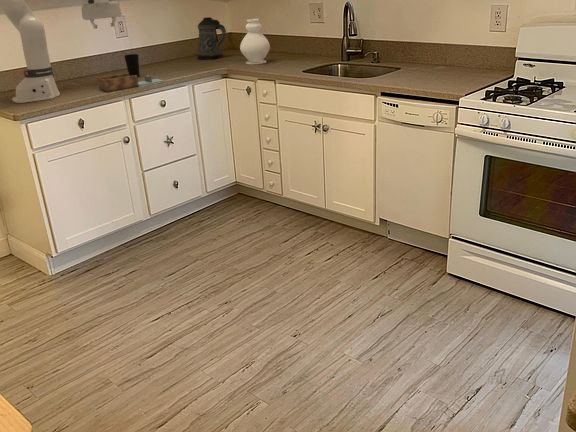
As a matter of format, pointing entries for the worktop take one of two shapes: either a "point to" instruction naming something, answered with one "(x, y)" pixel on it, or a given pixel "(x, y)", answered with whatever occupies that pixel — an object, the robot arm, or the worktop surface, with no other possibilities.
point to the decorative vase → (254, 43)
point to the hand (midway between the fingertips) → (104, 27)
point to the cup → (132, 64)
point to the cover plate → (149, 81)
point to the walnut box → (117, 82)
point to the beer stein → (210, 39)
